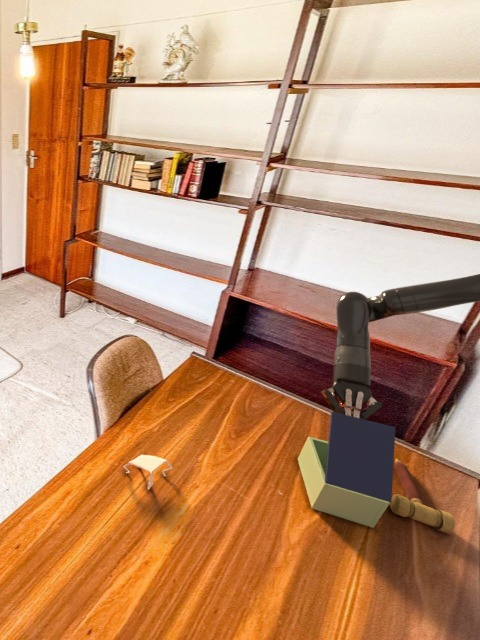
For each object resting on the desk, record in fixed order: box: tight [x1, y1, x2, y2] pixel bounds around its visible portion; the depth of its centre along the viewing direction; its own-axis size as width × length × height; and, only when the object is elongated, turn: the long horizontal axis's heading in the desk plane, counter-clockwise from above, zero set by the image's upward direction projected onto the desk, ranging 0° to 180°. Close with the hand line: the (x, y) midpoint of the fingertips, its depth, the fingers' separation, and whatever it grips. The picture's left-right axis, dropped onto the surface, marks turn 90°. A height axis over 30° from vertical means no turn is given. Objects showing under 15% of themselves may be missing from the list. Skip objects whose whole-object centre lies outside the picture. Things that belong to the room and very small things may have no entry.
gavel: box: [390, 458, 456, 534], centre depth 101 cm, size 21×5×10 cm
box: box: [297, 436, 391, 529], centre depth 99 cm, size 16×13×9 cm
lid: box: [325, 411, 396, 503], centre depth 93 cm, size 17×13×1 cm
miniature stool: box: [122, 454, 174, 491], centre depth 102 cm, size 12×8×5 cm
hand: (349, 433), depth 99 cm, fingers closed
